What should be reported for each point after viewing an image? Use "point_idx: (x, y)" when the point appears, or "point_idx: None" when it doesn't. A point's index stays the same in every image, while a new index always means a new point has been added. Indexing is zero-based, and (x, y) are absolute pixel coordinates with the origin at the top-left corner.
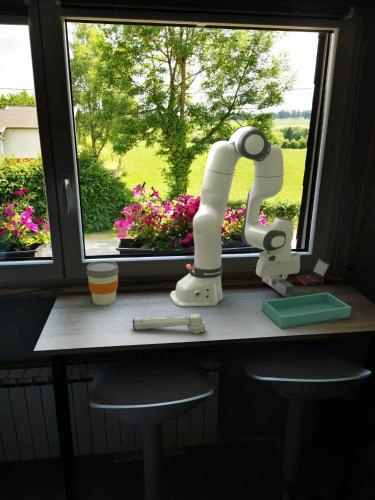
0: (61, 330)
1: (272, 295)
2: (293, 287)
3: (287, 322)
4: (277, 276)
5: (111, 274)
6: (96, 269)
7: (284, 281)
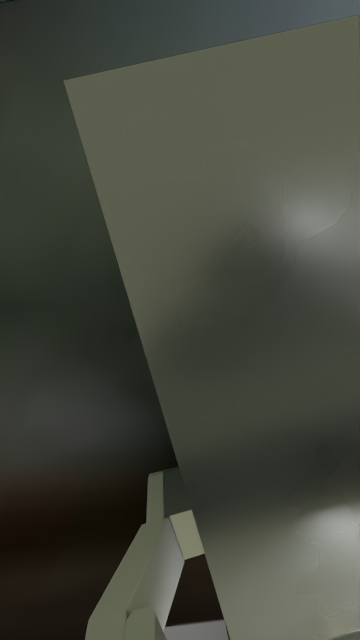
0: None
1: None
2: (106, 103)
3: None
4: (264, 601)
5: None
6: None
7: (234, 408)
